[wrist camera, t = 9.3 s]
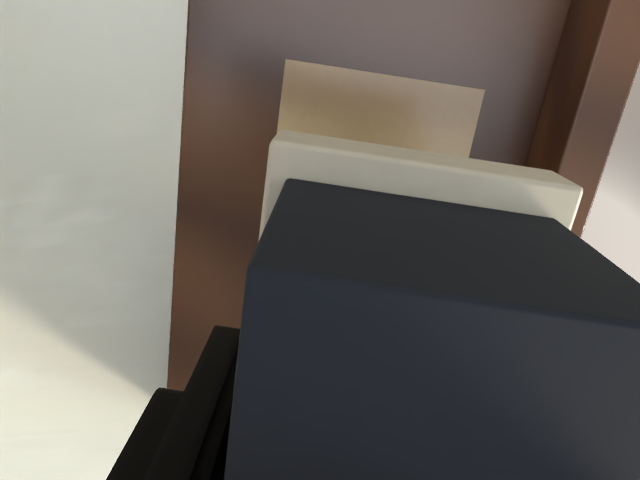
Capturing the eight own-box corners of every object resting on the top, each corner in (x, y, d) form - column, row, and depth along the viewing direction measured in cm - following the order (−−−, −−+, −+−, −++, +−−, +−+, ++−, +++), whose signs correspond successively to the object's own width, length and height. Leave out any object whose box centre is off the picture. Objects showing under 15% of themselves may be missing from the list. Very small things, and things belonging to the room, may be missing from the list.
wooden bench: (226, -112, 18) (168, -199, 12) (576, -56, 18) (698, -112, 12) (187, 422, 25) (139, 539, 19) (436, 457, 25) (466, 584, 19)
